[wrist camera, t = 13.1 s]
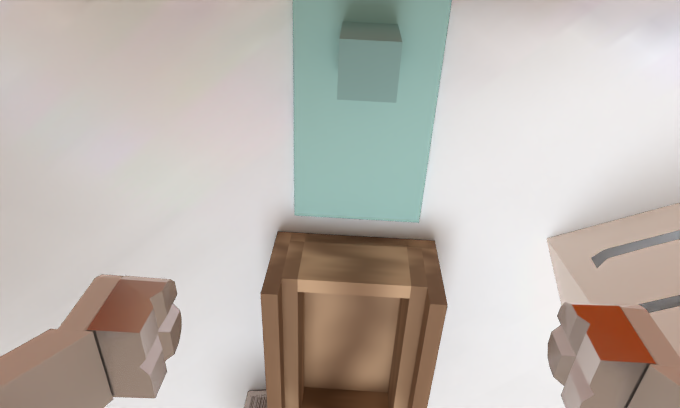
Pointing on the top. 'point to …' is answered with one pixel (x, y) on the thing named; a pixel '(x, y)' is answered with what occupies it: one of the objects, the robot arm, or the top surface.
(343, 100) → the cover plate
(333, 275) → the walnut box
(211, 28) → the top surface
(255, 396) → the coffee box
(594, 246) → the grater
